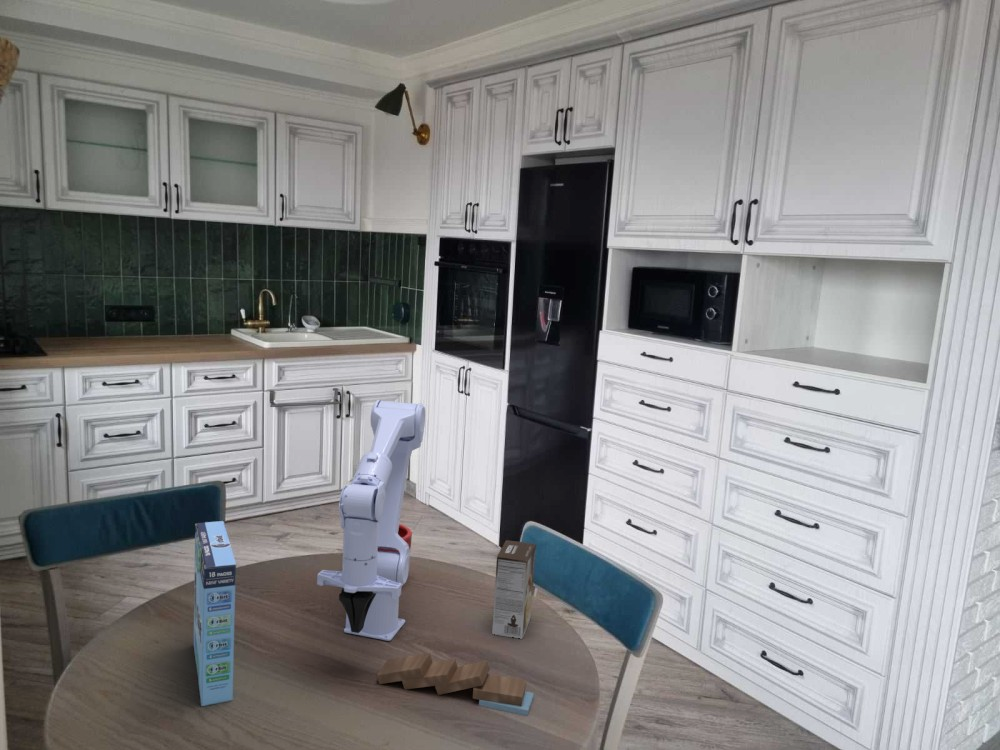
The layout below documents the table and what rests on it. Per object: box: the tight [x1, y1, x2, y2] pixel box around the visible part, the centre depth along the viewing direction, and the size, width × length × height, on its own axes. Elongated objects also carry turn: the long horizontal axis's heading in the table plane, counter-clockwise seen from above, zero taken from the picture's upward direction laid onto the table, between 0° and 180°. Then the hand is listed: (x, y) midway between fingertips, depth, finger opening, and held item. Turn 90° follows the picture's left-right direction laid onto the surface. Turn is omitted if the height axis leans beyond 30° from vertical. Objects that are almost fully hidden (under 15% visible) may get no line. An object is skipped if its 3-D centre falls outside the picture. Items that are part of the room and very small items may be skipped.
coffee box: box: [491, 539, 537, 640], centre depth 141 cm, size 9×6×16 cm
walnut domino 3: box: [434, 660, 490, 696], centre depth 119 cm, size 2×5×8 cm
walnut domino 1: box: [376, 652, 433, 685], centre depth 121 cm, size 2×5×8 cm
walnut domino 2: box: [401, 658, 459, 690], centre depth 120 cm, size 2×5×8 cm
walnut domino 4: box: [472, 673, 527, 706], centre depth 118 cm, size 2×5×8 cm
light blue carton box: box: [193, 520, 237, 708], centre depth 119 cm, size 20×5×23 cm, turn 26°
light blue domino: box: [478, 690, 535, 717], centre depth 117 cm, size 2×5×8 cm
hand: (357, 629), depth 122 cm, fingers closed
